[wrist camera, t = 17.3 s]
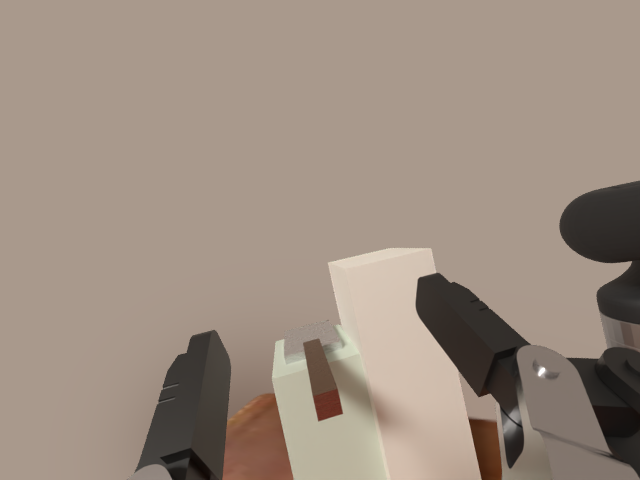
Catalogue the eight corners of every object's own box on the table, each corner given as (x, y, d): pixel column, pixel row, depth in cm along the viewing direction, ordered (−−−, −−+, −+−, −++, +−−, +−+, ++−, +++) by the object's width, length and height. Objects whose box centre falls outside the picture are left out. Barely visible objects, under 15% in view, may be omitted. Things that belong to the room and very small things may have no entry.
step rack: (426, 435, 41) (385, 247, 41) (490, 521, 28) (431, 248, 28) (305, 477, 38) (261, 276, 38) (315, 593, 25) (249, 291, 25)
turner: (329, 326, 40) (327, 313, 40) (373, 403, 20) (368, 379, 20) (285, 337, 39) (282, 325, 39) (286, 432, 19) (280, 406, 19)
